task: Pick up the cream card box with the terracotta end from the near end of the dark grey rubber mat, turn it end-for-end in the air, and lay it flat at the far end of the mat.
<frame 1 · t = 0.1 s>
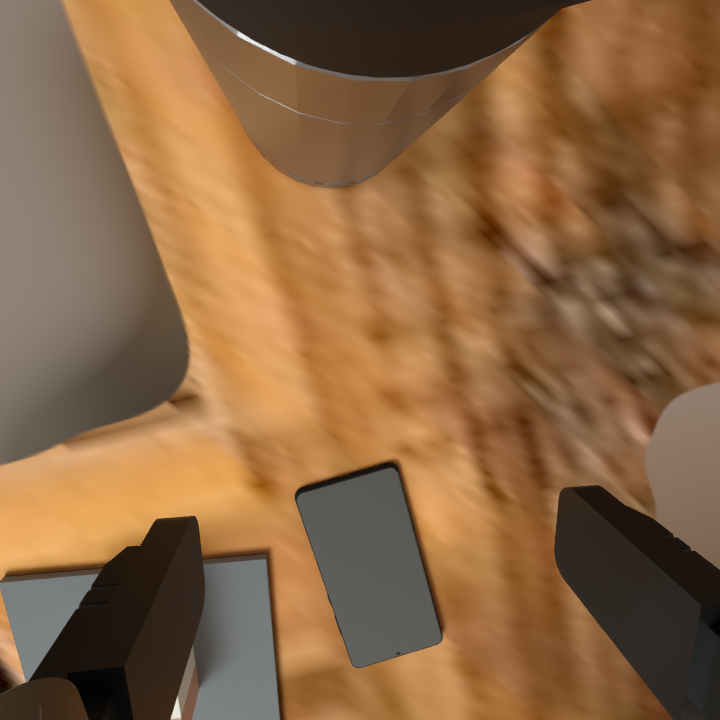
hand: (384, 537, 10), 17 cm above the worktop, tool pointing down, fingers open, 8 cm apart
smartphone: (371, 563, 31), on the worktop
card box: (149, 646, 30), point 1 cm above the worktop, touching mat
mat: (164, 707, 32), on the worktop
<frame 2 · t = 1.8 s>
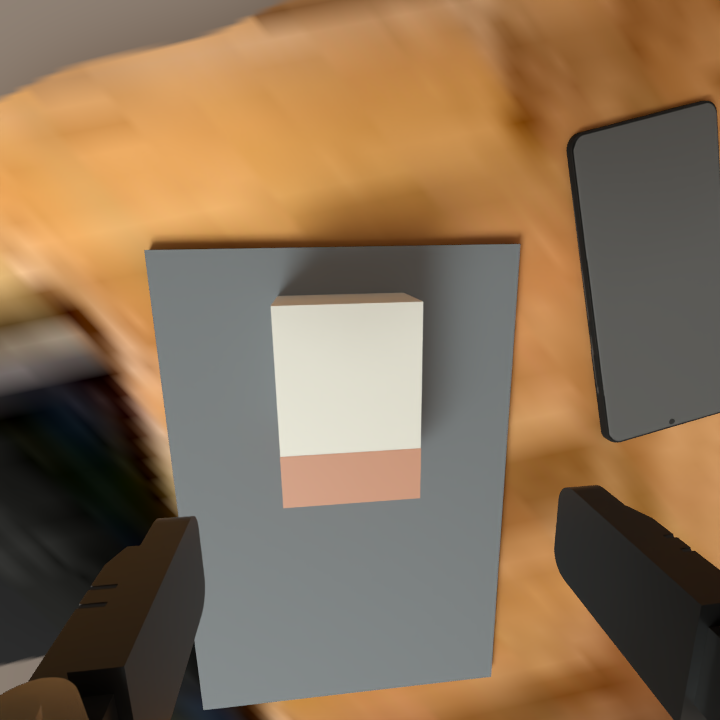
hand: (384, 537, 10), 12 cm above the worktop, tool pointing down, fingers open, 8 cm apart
smartphone: (643, 283, 22), on the worktop
card box: (343, 382, 21), point 1 cm above the worktop, touching mat
mat: (346, 493, 23), on the worktop
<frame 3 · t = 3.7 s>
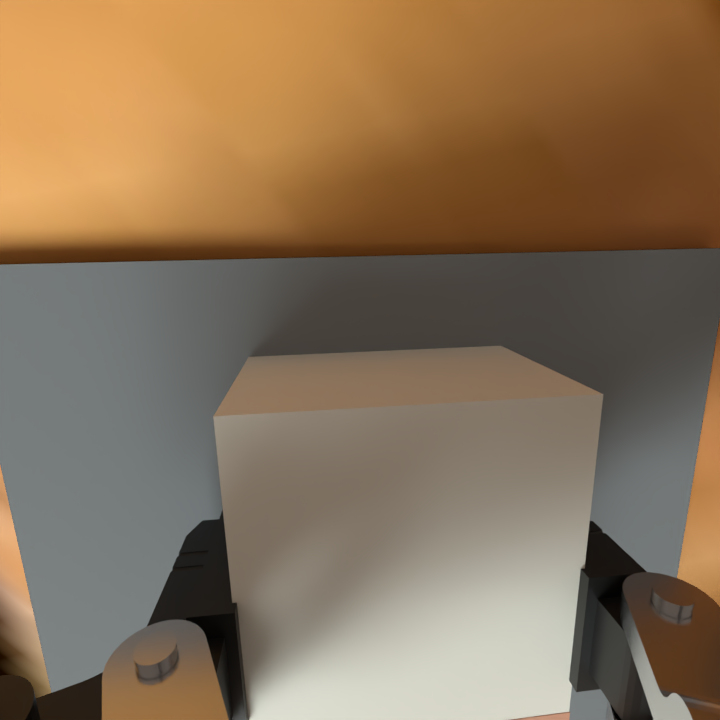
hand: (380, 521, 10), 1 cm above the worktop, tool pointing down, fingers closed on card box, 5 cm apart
card box: (380, 516, 11), point 1 cm above the worktop, touching gripper, mat
mat: (379, 698, 13), on the worktop
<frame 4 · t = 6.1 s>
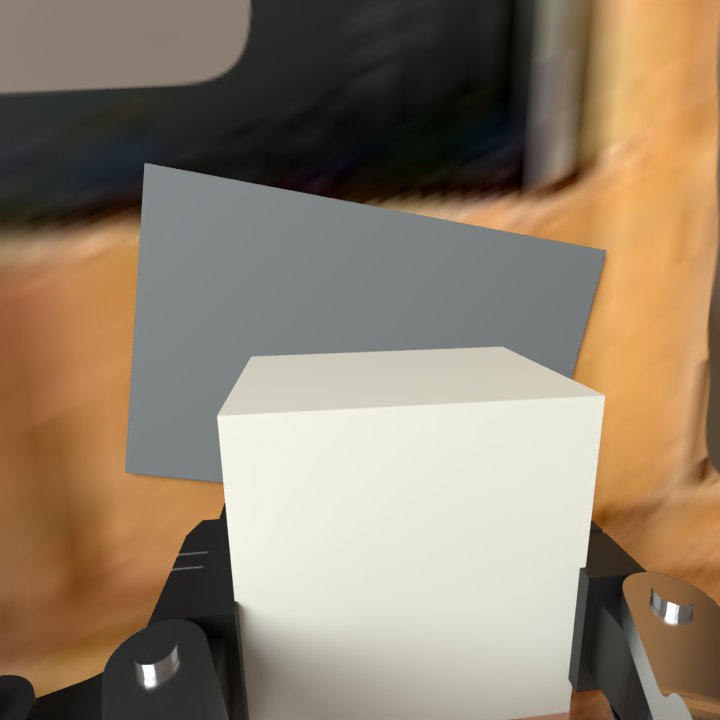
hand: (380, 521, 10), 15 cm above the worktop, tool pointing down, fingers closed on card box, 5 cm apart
card box: (381, 516, 11), point 15 cm above the worktop, touching gripper
mat: (364, 359, 25), on the worktop
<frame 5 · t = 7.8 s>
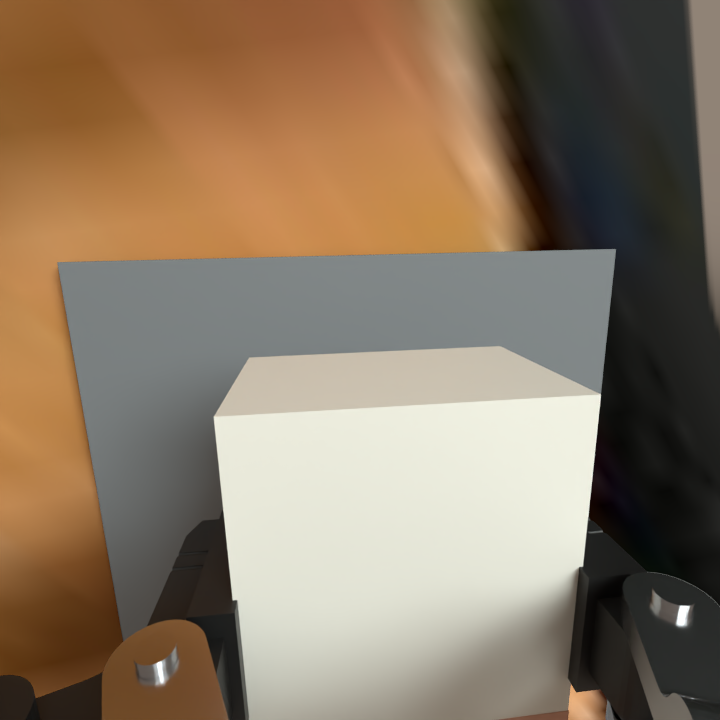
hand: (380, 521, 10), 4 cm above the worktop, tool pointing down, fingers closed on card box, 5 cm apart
card box: (380, 516, 11), point 4 cm above the worktop, touching gripper
mat: (361, 598, 16), on the worktop
when the fingers open (2 cm above the worktop, at t = 8.8 s): card box stays where it is, resting on mat.
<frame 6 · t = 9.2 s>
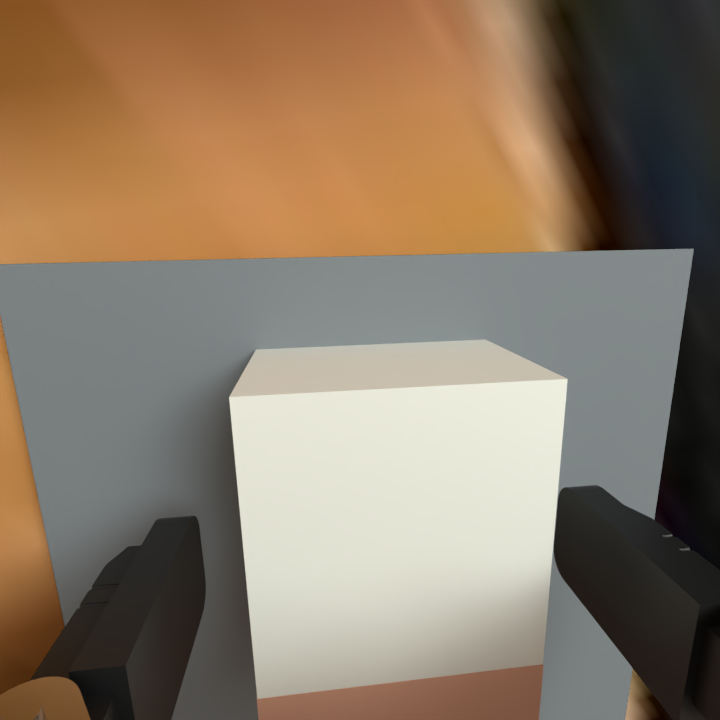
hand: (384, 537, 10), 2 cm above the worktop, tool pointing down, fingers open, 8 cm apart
card box: (376, 496, 12), point 1 cm above the worktop, touching mat
mat: (374, 667, 13), on the worktop
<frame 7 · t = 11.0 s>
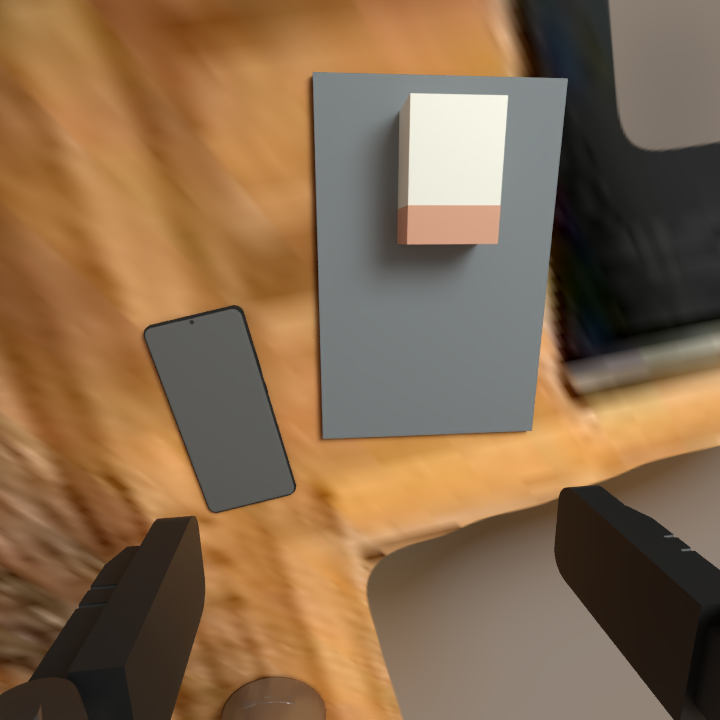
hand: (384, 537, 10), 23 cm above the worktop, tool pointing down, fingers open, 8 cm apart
smartphone: (227, 411, 33), on the worktop
card box: (440, 180, 29), point 1 cm above the worktop, touching mat
mat: (433, 272, 31), on the worktop
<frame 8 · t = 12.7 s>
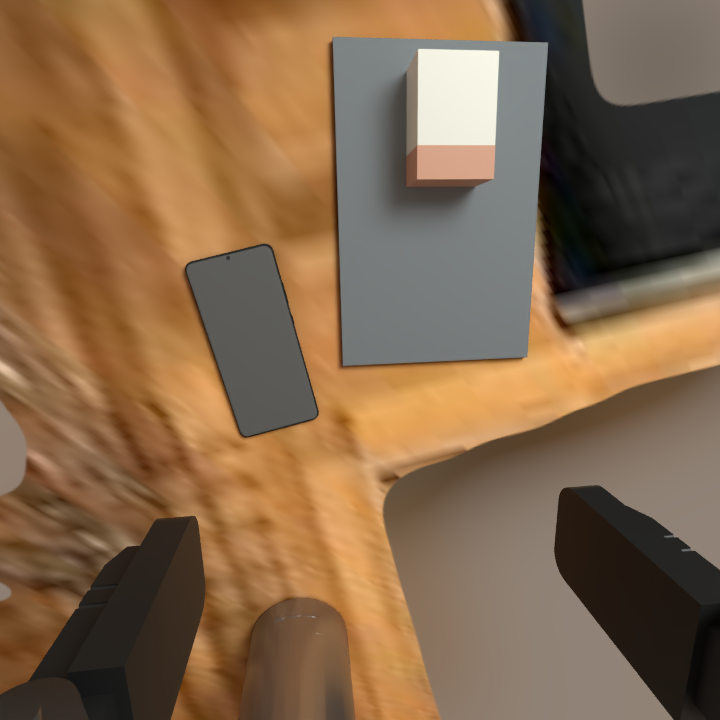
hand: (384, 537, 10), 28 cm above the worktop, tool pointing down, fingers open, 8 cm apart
smartphone: (257, 343, 37), on the worktop
card box: (442, 130, 34), point 1 cm above the worktop, touching mat
mat: (438, 213, 36), on the worktop
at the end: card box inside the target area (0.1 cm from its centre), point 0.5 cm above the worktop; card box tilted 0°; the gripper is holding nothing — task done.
